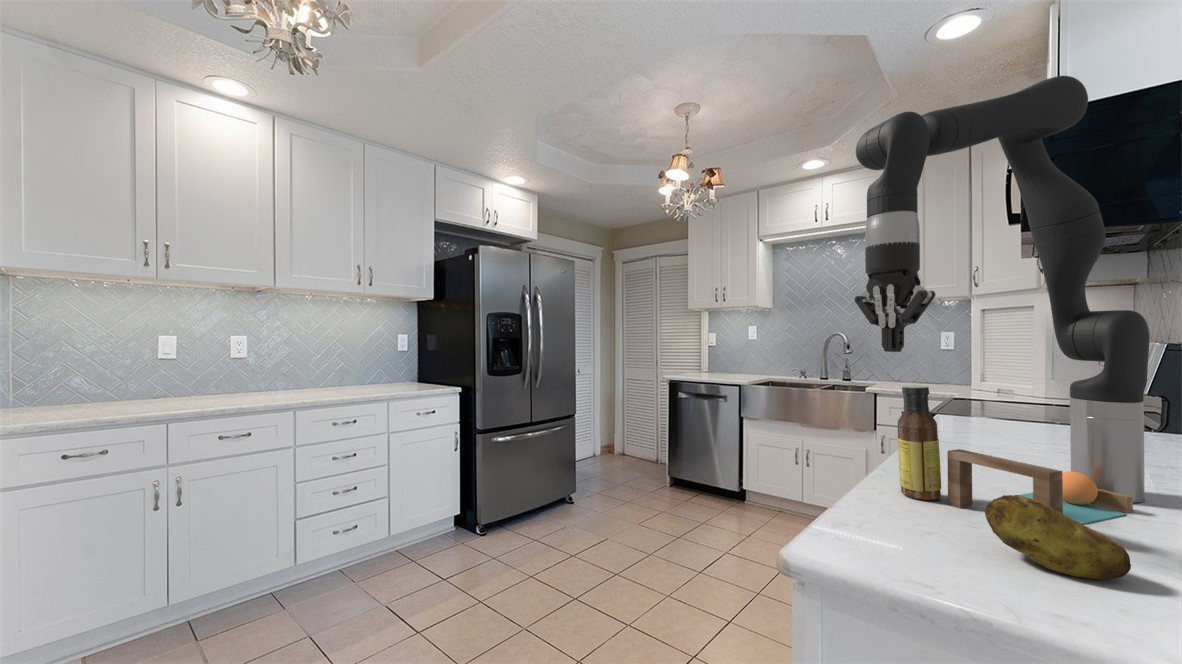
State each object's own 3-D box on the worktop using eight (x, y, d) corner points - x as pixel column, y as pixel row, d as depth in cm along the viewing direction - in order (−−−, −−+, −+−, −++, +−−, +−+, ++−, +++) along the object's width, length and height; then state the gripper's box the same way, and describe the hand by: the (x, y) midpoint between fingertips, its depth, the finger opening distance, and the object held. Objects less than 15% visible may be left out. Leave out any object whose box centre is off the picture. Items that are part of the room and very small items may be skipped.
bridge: (960, 502, 86) (959, 449, 86) (1062, 534, 72) (1062, 470, 72) (947, 504, 85) (947, 450, 85) (1049, 536, 71) (1049, 472, 71)
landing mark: (1037, 492, 90) (1037, 491, 90) (1126, 515, 79) (1126, 514, 79) (993, 500, 87) (993, 499, 87) (1079, 525, 75) (1079, 523, 75)
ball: (1067, 493, 88) (1062, 463, 88) (1107, 503, 83) (1102, 471, 82) (1047, 503, 86) (1043, 473, 86) (1088, 514, 81) (1083, 482, 81)
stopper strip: (1051, 491, 91) (1051, 478, 91) (1132, 511, 81) (1132, 496, 81) (1046, 492, 91) (1046, 478, 91) (1127, 513, 80) (1127, 497, 80)
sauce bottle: (937, 493, 90) (936, 385, 91) (945, 504, 85) (944, 388, 85) (895, 488, 93) (894, 383, 93) (900, 499, 88) (899, 387, 88)
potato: (1109, 599, 54) (1108, 526, 54) (975, 553, 66) (974, 493, 66) (1138, 581, 58) (1137, 513, 58) (1006, 541, 70) (1006, 484, 70)
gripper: (950, 238, 75) (950, 352, 74) (873, 251, 87) (874, 350, 87) (914, 234, 72) (915, 353, 72) (840, 249, 84) (841, 350, 84)
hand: (892, 351), depth 79 cm, fingers closed
